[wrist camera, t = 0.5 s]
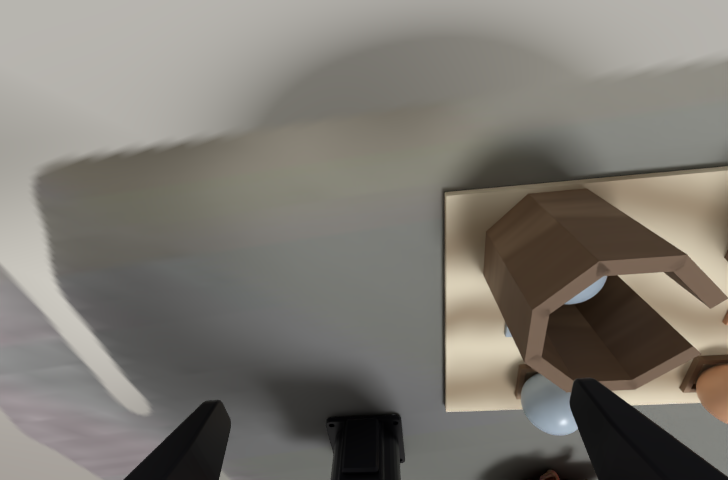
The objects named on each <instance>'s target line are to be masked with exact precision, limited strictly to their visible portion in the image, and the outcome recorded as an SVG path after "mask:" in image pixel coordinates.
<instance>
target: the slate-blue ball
mask: <svg viewBox="0 0 728 480" xmlns="http://www.w3.org/2000/svg"><path fill="white" fill-rule="evenodd" d="M570 395H571V392H567V393H566V392H565V391H564V390H562V389H561V388H560V387H558V386H557V385H555V384H554V383H552V382H551V381H550V380H548V379H547V378H545V377H544V376H543V375H541V374H540V373H538V374H535V375H533V376H532V377H530V378H529V379H528V380H527V381H526V382H525V384H524V385H523V388H522V391H521V405H522V408H523V411H524V413H525V415H526V416H527V418H528V419H529V420H530V421H531V423H532V424H533V425H535V426H536V427H537V428H539V429H540V430H542V431H544V432H546V433H549V434H552V435H567V434H570V433H573V432H574V431H576V430H577V429H578V427H577V425H576V422H575V419H574V417H573V414H572V412H571V409H570V403H569V401H570Z"/></svg>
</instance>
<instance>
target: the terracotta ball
mask: <svg viewBox="0 0 728 480" xmlns="http://www.w3.org/2000/svg"><path fill="white" fill-rule="evenodd" d="M696 392H697V396H698V398H699V400H700V402H701V403H702V405H703V406H704V407H705V409H706V410H707V411H708V412H709V413H711V414H712V415H713V416H714V417H716V418H717V419H719V420H720V421H722V422H724V423H726V424H728V364H721V365H716V366H712V367H709V368H707V369H706V370H704V371H703V372H702V373H701V374H700V375H699V377H698V379H697V382H696Z"/></svg>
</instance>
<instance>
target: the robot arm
mask: <svg viewBox="0 0 728 480" xmlns="http://www.w3.org/2000/svg"><path fill="white" fill-rule="evenodd" d="M569 403H570V409H571V412H572V414H573V417H574V419H575V422H576V425H577V427H578V430H579V432H580V435H581V437H582V440H583V442H584V445H585V447H586V450H587V453H588V455H589V458H590V460H591V463H592V465H593V468H594V470H595V473H596V475H597V477H598V480H728V477H727V476H726V475H724V474H723V473H722V472H720V471H719V470H718V469H716V468H715V467H714V466H712V465H711V464H710V463H708V462H707V461H706V460H704V459H703V458H702V457H700V456H699V455H697V454H696V453H695V452H693V451H692V450H691V449H689V448H688V447H687V446H685V445H684V444H683V443H681V442H680V441H679V440H677V439H676V438H674V437H673V436H672V435H670V434H669V433H668V432H666V431H665V430H664V429H662V428H661V427H660V426H658V425H657V424H656V423H654V422H653V421H652V420H650V419H649V418H647V417H646V416H645V415H643V414H642V413H641V412H639V411H638V410H637V409H635V408H634V407H633V406H631V405H630V404H629V403H627V402H626V401H624V400H623V399H622V398H620V397H619V396H618V395H616V394H615V393H614V392H612V391H611V390H610V389H608V388H607V387H606V386H604V385H603V384H602V383H600V382H599V381H597V380H596V379H594V378H577V379H575V380H574V382H573V386H572V390H571V395H570V401H569ZM230 428H231V421H230V417H229V415H228V413H227V411H226V409H225V407H224V405H223V403H222V402H221V401H220V400H209V401H205V402H203V403H202V404H201V405H200V406H199V407H198V408H197V409H196V410H195V411H194V412H193V413H192V414H191V415H190V416H189V417H188V418H187V419H185V420H184V421H183V422H182V423H181V424H180V425H179V426H178V427H177V428H176V429H175V430H174V431H173V432H172V433H171V434H170V435H169V436H168V437H167V438H166V439H165V440H164V441H163V442H162V443H161V444H160V445H159V446H158V447H157V448H156V449H155V450H154V451H152V452H151V453H150V454H149V455H148V456H147V457H146V458H145V459H144V460H143V461H142V462H141V463H140V464H139V465H138V466H137V467H136V468H135V469H134V470H133V471H132V472H131V473H130V474H129V475H128V476H127V477H126V478H125V479H124V480H219V477H220V472H221V468H222V464H223V459H224V455H225V451H226V446H227V442H228V437H229V433H230ZM326 428H327V431H328V435H329V439H330V443H331V446H332V450H333V454H334V455H333V464H332V472H331V480H401V477H400V463H403V462H405V453H404V443H403V433H402V423H401V417H400V416H397V415H388V416H360V417H333V418H328V419H327V421H326Z"/></svg>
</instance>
